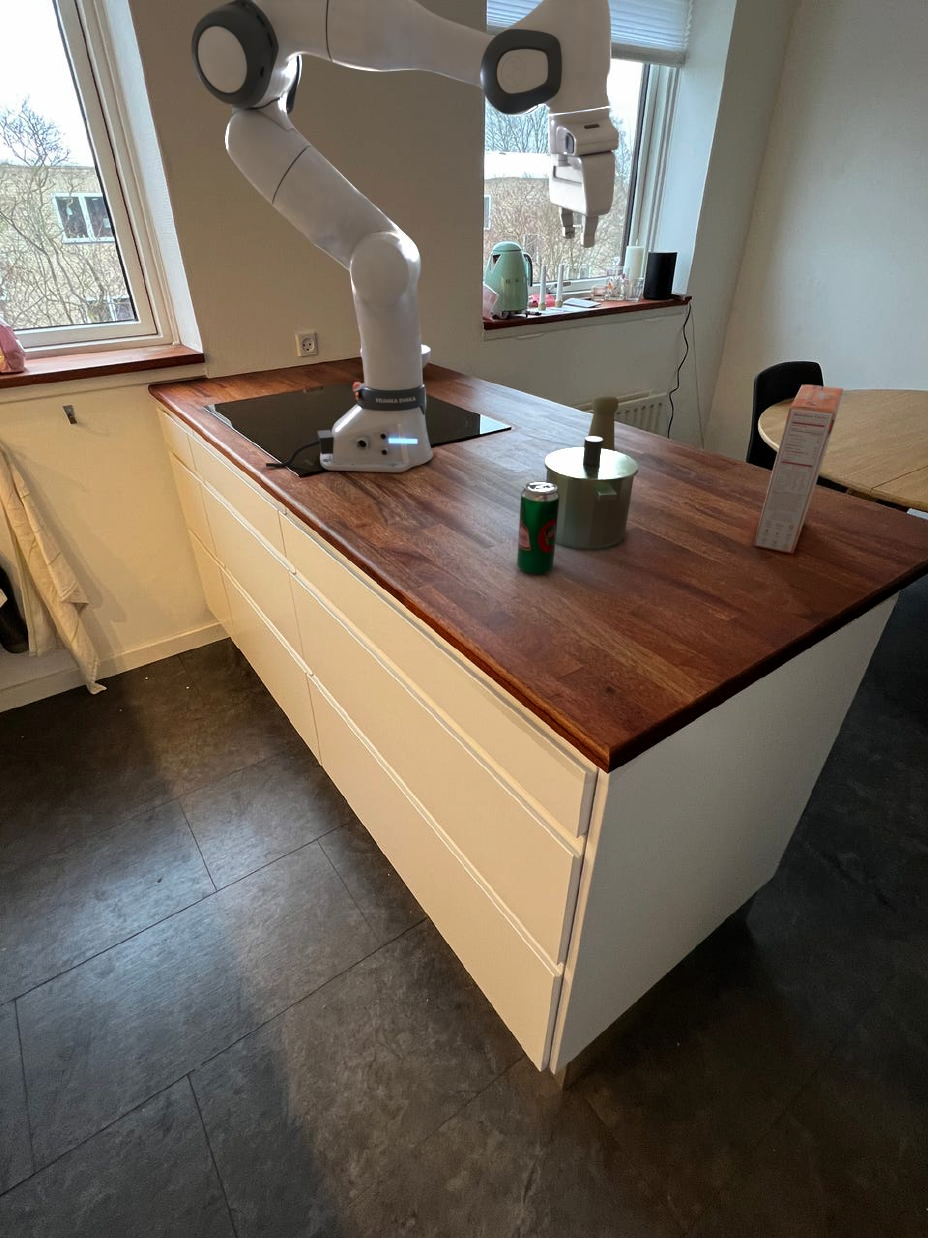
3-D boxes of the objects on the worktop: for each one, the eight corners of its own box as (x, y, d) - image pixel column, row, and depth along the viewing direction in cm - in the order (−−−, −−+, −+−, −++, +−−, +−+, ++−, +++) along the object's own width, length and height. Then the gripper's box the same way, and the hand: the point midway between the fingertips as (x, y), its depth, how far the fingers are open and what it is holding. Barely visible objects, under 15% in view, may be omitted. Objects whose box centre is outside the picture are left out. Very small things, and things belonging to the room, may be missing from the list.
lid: (556, 489, 87) (559, 455, 85) (535, 456, 99) (537, 426, 96) (651, 485, 89) (656, 452, 86) (620, 453, 100) (624, 423, 97)
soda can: (514, 560, 91) (518, 480, 84) (549, 558, 91) (556, 479, 85) (520, 577, 87) (524, 494, 80) (556, 576, 87) (564, 493, 80)
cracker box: (764, 513, 105) (801, 382, 93) (803, 521, 102) (847, 387, 91) (749, 546, 95) (788, 403, 83) (792, 556, 92) (839, 410, 81)
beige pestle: (614, 455, 129) (621, 400, 123) (584, 453, 130) (590, 398, 124) (614, 446, 134) (621, 392, 128) (585, 444, 135) (591, 391, 129)
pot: (557, 560, 91) (563, 491, 85) (532, 509, 106) (536, 448, 100) (641, 555, 92) (654, 487, 86) (605, 506, 107) (613, 445, 101)
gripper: (538, 137, 101) (541, 236, 110) (579, 140, 86) (579, 255, 94) (576, 131, 102) (575, 230, 111) (624, 133, 86) (619, 249, 95)
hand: (577, 242), depth 102 cm, fingers open, 8 cm apart
